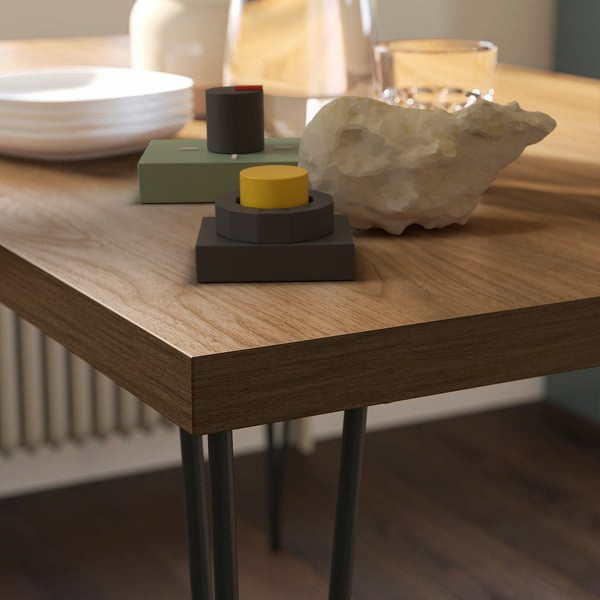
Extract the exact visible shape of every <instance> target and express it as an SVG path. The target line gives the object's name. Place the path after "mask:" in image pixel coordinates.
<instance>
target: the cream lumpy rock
mask: <svg viewBox="0 0 600 600" xmlns="http://www.w3.org/2000/svg"><path fill="white" fill-rule="evenodd" d="M471 96H473V97H475V99H476V101H475V102H473V103H471V104H469V105H468V106H466V107H463V108H461V109H459V110H456V111H453V112H452V111H451V112H448V111H447V110H446V109H444V108H434V109H433V108H431V109H430V108H429V109H428V108H424V109H423V108H422V109H419V108H410V107H403V106H400V105H396V104H388V103H387V102H384V101H382V100H378V99H375V98H371V97H368V96H357V95H348V96H339V97H336V98H334V99H332V100H331V101H329V102H327V103H325V104H324V105H323V106H321V108H320V109H319V110H318V111H317V112H316V113H315V114H314V116H313V117H312V119H311V120H310V121H309V122H308V123H307V124H306V126H304V129H303V130H302V133H301V135H300V137H299V138H300V147H299V163H298V167H301V168H304V169H306V170H307V171H308V189H312V190H317V191H320V192H323V193H326V194H329V195H331V196H332V197H333V202H334V215H347V216H348V220H349V224H350V228H355V229H358V230H367V229H371V228H377V229H381V230H384V231H386V232H387V233H388V234H390V235H397V236H400V235H401V234H402V233H403V231H404V230H405V229H406V228H407V227H408V226H410V225H414V224H417V225H419V226H422V227H423V228H424V229H427V230H432V229H440V230H442V229H443V228H445V227H447V226H450V225H452V224H457V225H460V226H463V225H465V224H466V223H467V222H468V220H469V218H470V216H471V214H472V213H474V212H475V210H476V209H477V208H478V205H479V202H480V198H481V196H482V194H483V193H485V191H486V190H487V189H488V188H489V187H490V186H491V185H492V184H493V183H494V182H495V181H496V179H497V177H498V175H499V173H500V172H501V171H504V170H505V169H506V168H507V167H508V166H509V165H510V164H511V165H512V163H513V162H515V161H516V160H518V159H519V157H520V156H521V155H522V154H523V152H524V151H525V150H526V148H527V147H530V146H532V145H536V144H538V143H540V142H542V141H543V140H544V139H545V138H546V137H547V136H548V135H550V134H551V133H552V132H553V131H554V130H555V129H556V128H557V125H558V124H557V120H556V119H554V118H553V117H552V116H550V114H548V113H545V112H542V111H539V110H536V111H529V110H528V111H527V110H525V109H523V108H521V106H520V103H519V102H518V101H516V100H513V101H511V102H507V103H506V104H505V105H503V104H500V103H498V102H494V101H490V100H488V99H484V98H482V97H481V94H479V93H475V92H472V91H465V93H464V97H466V98H470V97H471Z"/></svg>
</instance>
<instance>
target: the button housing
mask: <svg viewBox="0 0 600 600" xmlns="http://www.w3.org/2000/svg"><path fill="white" fill-rule="evenodd" d="M308 198H309V204H306V205H304V206H297V207H290V208H264V209H263V208H254V207H246V206H242V205H241V204H240V190H238V191H232V192H230V193H227V194H224V195H221V196H219V197H217V198H216V202H214V214H215V215H214V216H202V218H201V223H200V227H199V230H198V233H197V237H196V242H195V246H194V250H195V251H194V253H195V254H194V255H195V277H196V279H195V280H196V283H250V282H251V283H253V282H255V283H257V282H306V281H307V282H313V281H315V282H317V281H354V280H355V265H356V263H355V262H356V261H355V259H356V258H355V257H356V255H355V246H356V245H355V241H354V236H353V232H352V229H351V228H352V227H350V224H349V220H348V216H347V215H334V202H333V197H332V196H331V195H329V194H326V193H323V192H320V191H317V190H312V189H308Z"/></svg>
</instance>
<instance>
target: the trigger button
mask: <svg viewBox="0 0 600 600" xmlns="http://www.w3.org/2000/svg"><path fill="white" fill-rule="evenodd" d="M240 204H241V205H242V206H246V207H254V208H263V209H264V208H290V207H297V206H304V205H306V204H309V198H308V171H307V170H306V169H304V168H301V167H296V166H286V165H266V166H256V167H251V168H247V169H244V170H242V171H241V172H240Z"/></svg>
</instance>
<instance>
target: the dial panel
mask: <svg viewBox="0 0 600 600" xmlns="http://www.w3.org/2000/svg"><path fill="white" fill-rule="evenodd" d="M300 138H301V137H264V144H265V147H264V149H263V150H261V151H258V152H253V153H243V154H223V153H215V152H211V151H209V150H208V149H207V138H183V139H182V138H179V139H178V138H175V139H174V138H173V139H170V138H169V139H166V138H165V139H151V140H150V142H149V143H148V145H147V147H146V148H145V150H144V152H143V153H142V155H141V157H140V159H139V160H138V162H137V179H138V180H137V183H138V200H139V201H138V202H139V204H181V203H182V204H183V203H184V204H187V203H188V204H189V203H190V204H191V203H216V198H217V197H219V196H221V195H224V194H227V193H230V192H232V191H238V190H240V172H241V171H242V170H244V169H247V168H251V167H256V166H266V165H286V166H296V167H298V163H299V147H300Z"/></svg>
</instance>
